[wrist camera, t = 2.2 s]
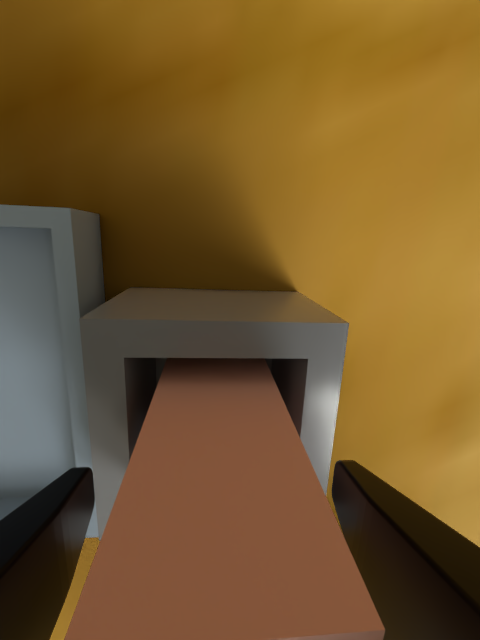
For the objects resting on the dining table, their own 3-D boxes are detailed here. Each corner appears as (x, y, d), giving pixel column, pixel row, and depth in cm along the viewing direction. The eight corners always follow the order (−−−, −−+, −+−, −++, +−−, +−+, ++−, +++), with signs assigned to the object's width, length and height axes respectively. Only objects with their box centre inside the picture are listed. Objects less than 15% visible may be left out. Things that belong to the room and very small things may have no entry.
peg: (254, 336, 13) (384, 630, 3) (250, 405, 14) (345, 809, 4) (175, 334, 13) (58, 656, 3) (176, 406, 13) (86, 845, 4)
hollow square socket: (298, 291, 13) (349, 323, 8) (285, 434, 15) (321, 529, 10) (130, 287, 12) (79, 318, 8) (137, 437, 14) (98, 540, 9)
